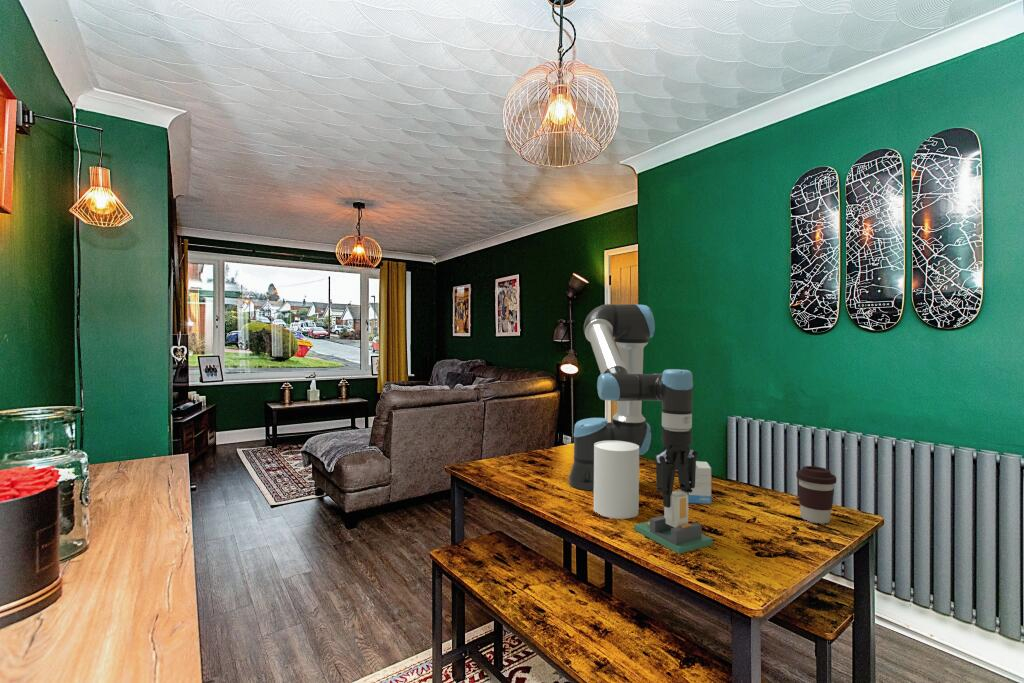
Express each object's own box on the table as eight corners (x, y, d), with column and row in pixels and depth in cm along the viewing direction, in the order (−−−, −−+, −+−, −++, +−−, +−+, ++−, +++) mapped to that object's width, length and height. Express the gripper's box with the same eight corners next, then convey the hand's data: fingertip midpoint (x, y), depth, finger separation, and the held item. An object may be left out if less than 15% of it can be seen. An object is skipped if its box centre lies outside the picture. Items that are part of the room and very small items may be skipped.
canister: (584, 507, 149) (585, 443, 148) (616, 499, 156) (617, 438, 155) (614, 522, 137) (615, 453, 137) (648, 513, 144) (648, 447, 144)
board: (634, 529, 132) (634, 510, 132) (666, 522, 137) (666, 503, 137) (679, 554, 117) (679, 532, 117) (712, 544, 123) (713, 523, 123)
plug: (665, 523, 125) (665, 493, 125) (676, 520, 127) (676, 490, 127) (677, 528, 122) (677, 497, 122) (688, 526, 124) (688, 495, 124)
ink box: (711, 504, 152) (712, 463, 151) (684, 502, 153) (684, 461, 153) (706, 495, 160) (706, 456, 160) (680, 493, 162) (680, 454, 161)
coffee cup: (822, 528, 133) (823, 475, 133) (788, 516, 142) (789, 466, 142) (842, 522, 138) (843, 471, 138) (808, 511, 147) (809, 462, 146)
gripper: (663, 434, 117) (662, 528, 118) (711, 428, 125) (710, 516, 125) (641, 428, 124) (640, 517, 124) (688, 423, 132) (687, 507, 132)
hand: (675, 517), depth 125 cm, fingers closed on plug, 4 cm apart
